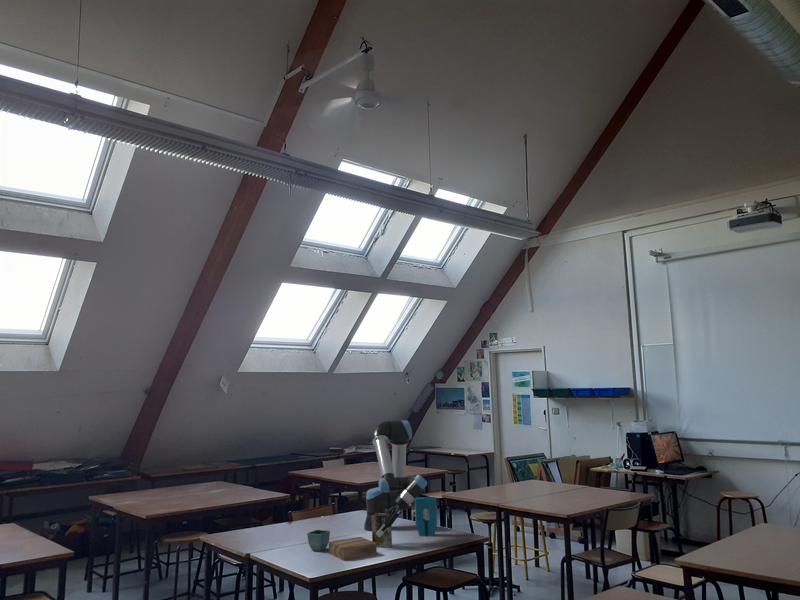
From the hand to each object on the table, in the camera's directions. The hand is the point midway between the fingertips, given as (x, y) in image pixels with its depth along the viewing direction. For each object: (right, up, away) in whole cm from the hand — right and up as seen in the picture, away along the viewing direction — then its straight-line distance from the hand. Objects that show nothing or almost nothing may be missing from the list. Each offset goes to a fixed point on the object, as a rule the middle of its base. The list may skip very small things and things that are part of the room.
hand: (376, 533), depth 311 cm
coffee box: (+3, -7, -1) cm, 7 cm away
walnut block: (-11, -5, -15) cm, 19 cm away
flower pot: (-30, -7, -4) cm, 31 cm away
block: (+28, -10, +22) cm, 37 cm away
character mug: (+25, -12, +36) cm, 46 cm away
